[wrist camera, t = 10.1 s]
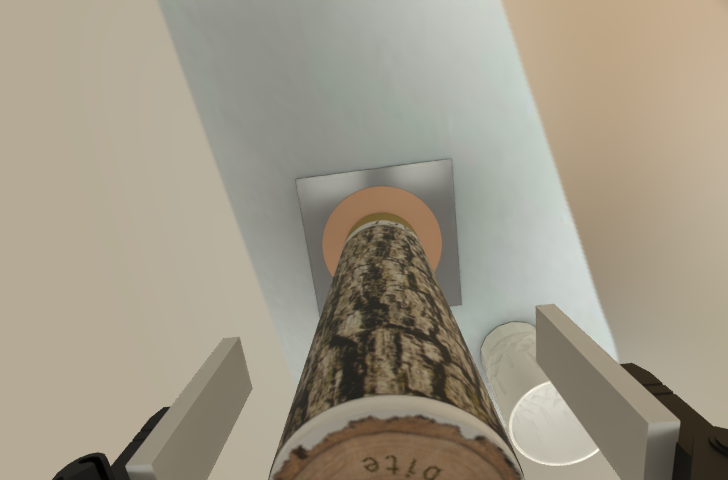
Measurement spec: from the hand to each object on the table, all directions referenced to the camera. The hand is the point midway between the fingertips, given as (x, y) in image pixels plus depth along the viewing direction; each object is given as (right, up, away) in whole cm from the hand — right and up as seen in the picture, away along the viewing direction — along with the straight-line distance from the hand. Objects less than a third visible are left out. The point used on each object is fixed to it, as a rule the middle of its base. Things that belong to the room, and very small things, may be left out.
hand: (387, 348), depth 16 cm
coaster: (+1, +5, +18) cm, 19 cm away
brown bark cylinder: (+1, +4, +17) cm, 18 cm away
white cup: (+14, -6, +21) cm, 26 cm away
